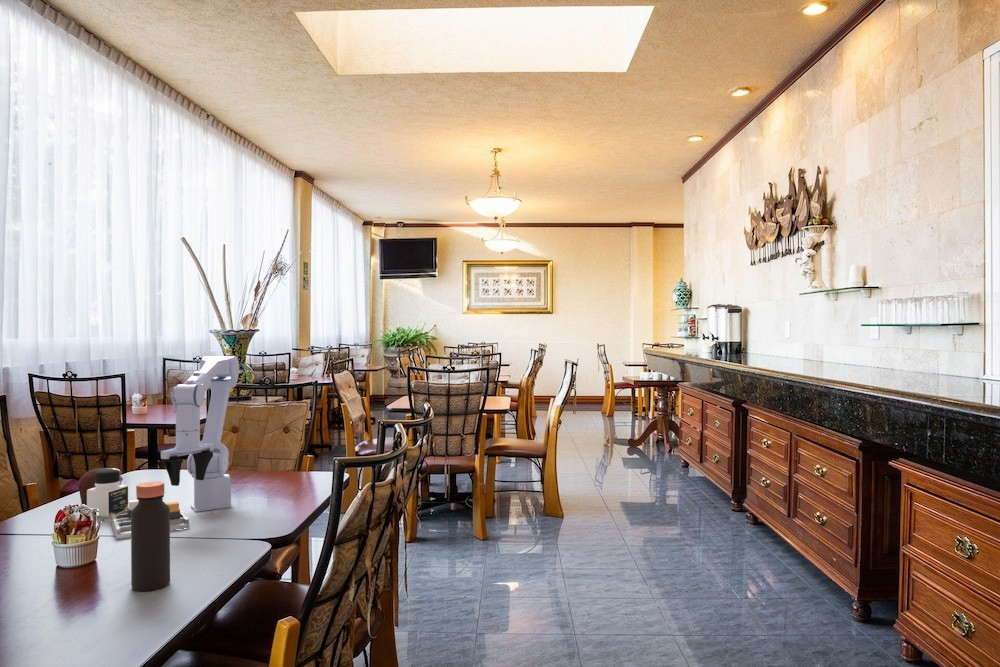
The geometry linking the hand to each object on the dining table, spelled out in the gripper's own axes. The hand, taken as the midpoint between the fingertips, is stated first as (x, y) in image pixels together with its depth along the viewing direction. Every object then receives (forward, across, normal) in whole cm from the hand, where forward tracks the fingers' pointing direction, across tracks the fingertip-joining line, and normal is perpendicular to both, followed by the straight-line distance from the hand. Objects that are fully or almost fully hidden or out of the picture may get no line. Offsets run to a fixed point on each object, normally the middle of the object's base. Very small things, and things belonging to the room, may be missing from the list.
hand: (187, 482), depth 177 cm
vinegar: (+11, +33, +30) cm, 47 cm away
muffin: (+10, -2, -39) cm, 40 cm away
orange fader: (+9, +4, -1) cm, 10 cm away
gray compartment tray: (+10, +6, -7) cm, 14 cm away
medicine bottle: (+10, +3, -27) cm, 29 cm away
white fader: (+9, +7, -12) cm, 16 cm away
